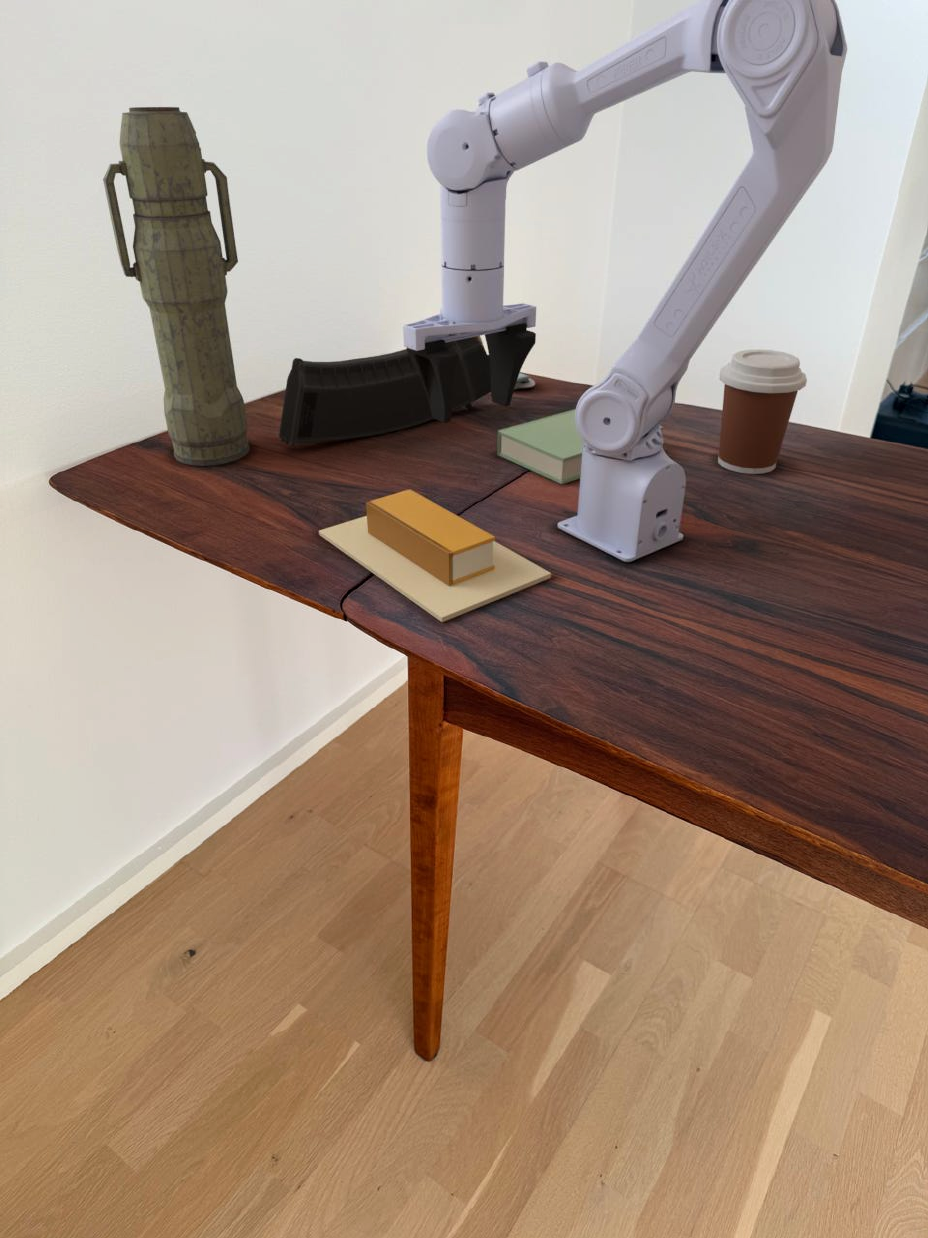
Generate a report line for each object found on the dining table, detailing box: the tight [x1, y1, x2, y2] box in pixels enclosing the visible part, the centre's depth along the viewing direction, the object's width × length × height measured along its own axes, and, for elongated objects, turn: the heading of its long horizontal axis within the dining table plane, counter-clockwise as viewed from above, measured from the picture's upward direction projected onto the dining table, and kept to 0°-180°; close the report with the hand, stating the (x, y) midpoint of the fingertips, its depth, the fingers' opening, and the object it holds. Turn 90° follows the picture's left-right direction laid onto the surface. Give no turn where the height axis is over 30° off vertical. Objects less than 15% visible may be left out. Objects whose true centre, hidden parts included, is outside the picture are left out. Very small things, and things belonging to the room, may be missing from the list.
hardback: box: [496, 408, 664, 485], centre depth 99 cm, size 16×11×3 cm
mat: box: [318, 515, 552, 623], centre depth 78 cm, size 20×12×1 cm, turn 38°
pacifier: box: [514, 372, 536, 390], centre depth 121 cm, size 7×6×6 cm
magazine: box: [278, 335, 491, 446], centre depth 105 cm, size 17×3×30 cm
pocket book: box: [365, 489, 496, 586], centre depth 77 cm, size 13×5×3 cm, turn 38°
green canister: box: [102, 106, 250, 467], centre depth 91 cm, size 9×12×35 cm
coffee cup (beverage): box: [717, 349, 808, 475], centre depth 94 cm, size 9×9×12 cm
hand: (471, 411), depth 84 cm, fingers open, 7 cm apart
